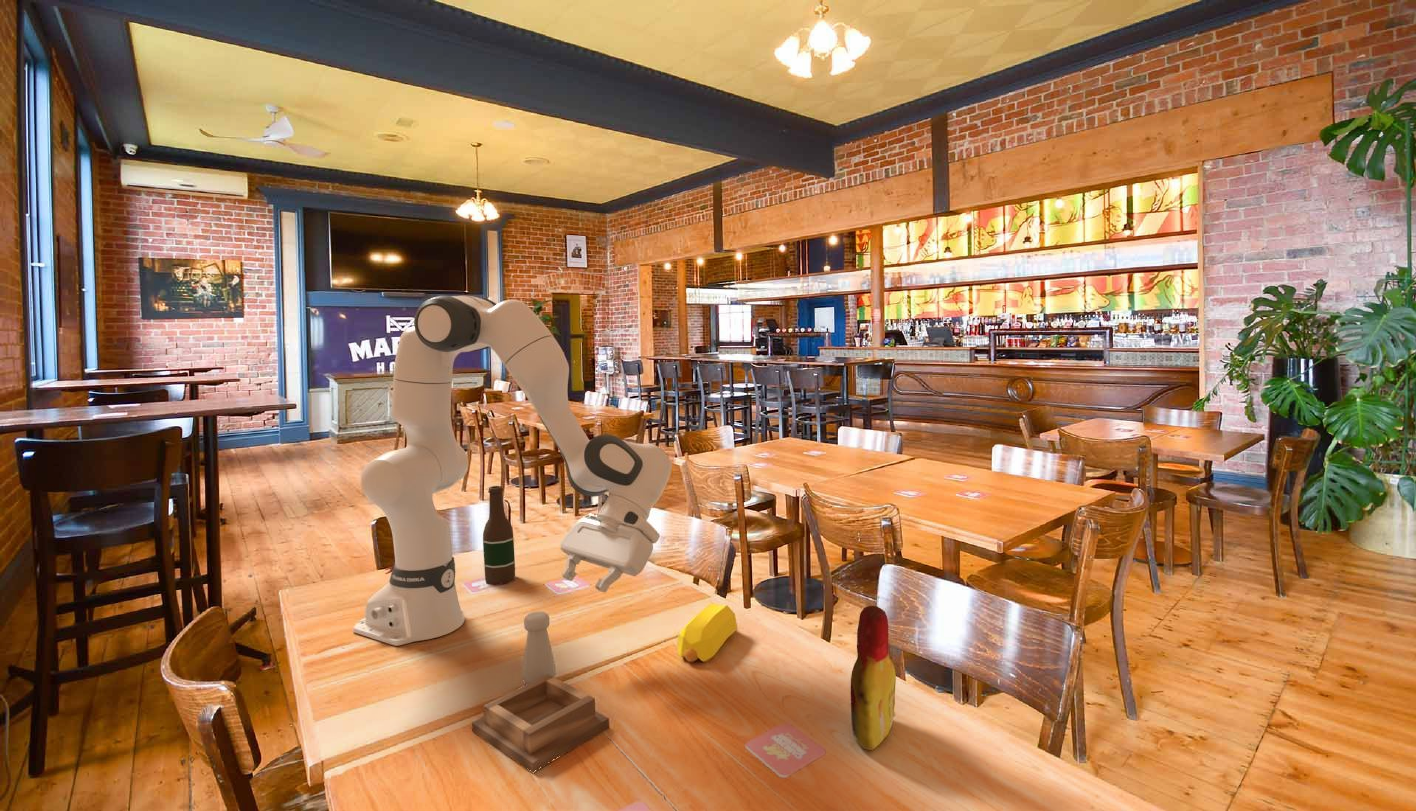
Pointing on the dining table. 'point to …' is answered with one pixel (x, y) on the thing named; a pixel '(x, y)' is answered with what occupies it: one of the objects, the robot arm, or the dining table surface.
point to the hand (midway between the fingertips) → (582, 584)
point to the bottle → (872, 680)
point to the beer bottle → (498, 542)
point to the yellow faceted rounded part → (706, 633)
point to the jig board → (540, 721)
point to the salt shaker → (537, 648)
